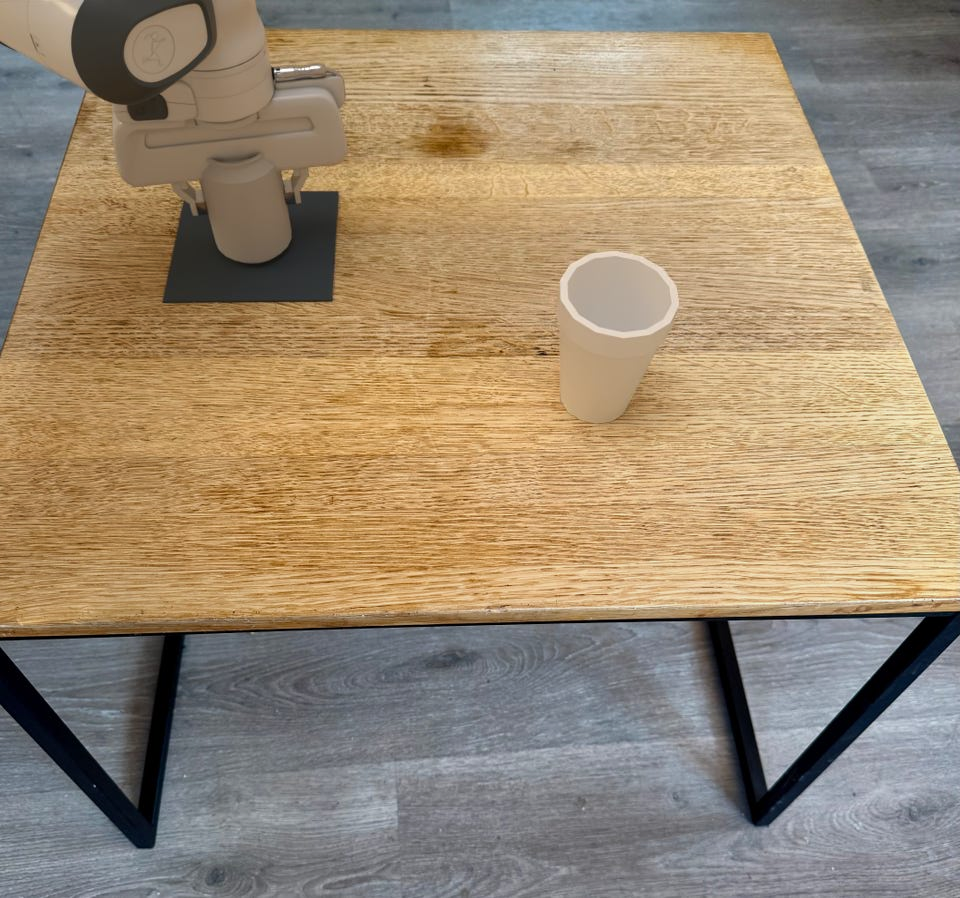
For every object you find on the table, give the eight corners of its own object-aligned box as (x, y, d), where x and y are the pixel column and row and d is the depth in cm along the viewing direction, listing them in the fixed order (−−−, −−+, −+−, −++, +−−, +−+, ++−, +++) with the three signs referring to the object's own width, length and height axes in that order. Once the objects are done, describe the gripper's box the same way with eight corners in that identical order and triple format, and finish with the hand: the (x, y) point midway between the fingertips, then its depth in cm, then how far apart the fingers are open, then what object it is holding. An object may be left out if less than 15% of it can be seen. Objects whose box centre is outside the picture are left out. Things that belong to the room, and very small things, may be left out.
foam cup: (665, 393, 80) (701, 290, 69) (607, 455, 75) (636, 357, 65) (581, 340, 83) (603, 234, 72) (521, 397, 79) (535, 294, 68)
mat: (162, 302, 83) (162, 301, 83) (185, 192, 92) (185, 191, 92) (332, 301, 84) (332, 299, 84) (338, 192, 94) (338, 191, 93)
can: (221, 274, 86) (194, 173, 76) (213, 224, 90) (186, 121, 80) (298, 262, 87) (281, 161, 77) (286, 213, 91) (269, 111, 81)
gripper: (337, 41, 76) (349, 172, 88) (92, 63, 73) (138, 197, 84) (348, 83, 73) (359, 214, 84) (91, 108, 70) (139, 241, 81)
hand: (247, 205), depth 84 cm, fingers closed on can, 7 cm apart
